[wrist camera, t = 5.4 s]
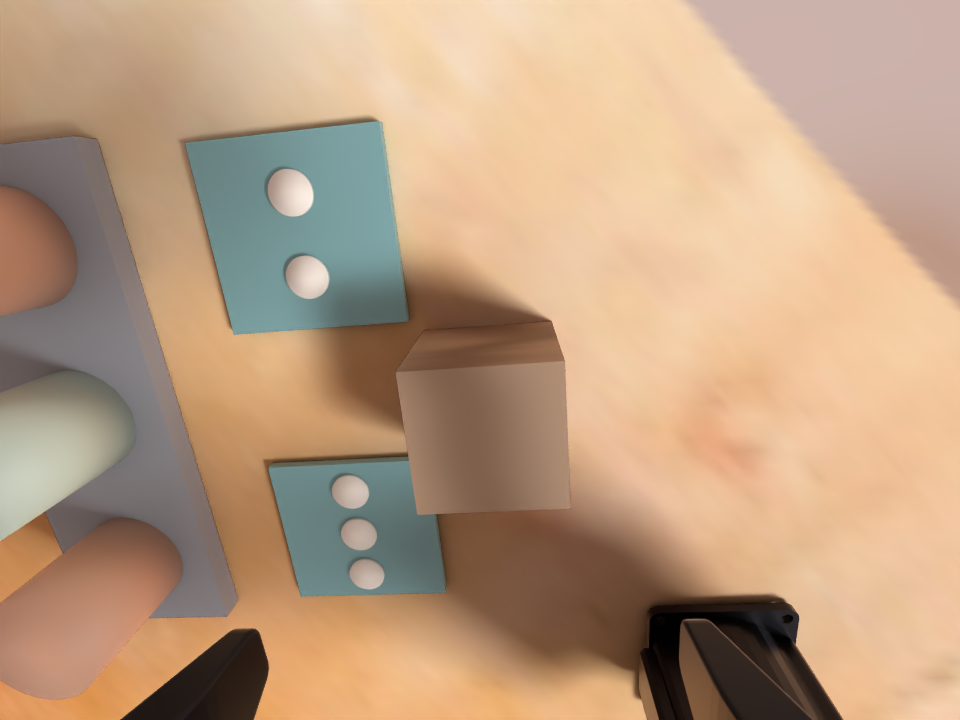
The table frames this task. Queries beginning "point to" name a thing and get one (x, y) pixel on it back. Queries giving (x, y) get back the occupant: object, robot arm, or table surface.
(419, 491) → the brown cube
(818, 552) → the table surface
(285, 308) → the pad two
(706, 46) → the table surface
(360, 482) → the pad three
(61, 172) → the board
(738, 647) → the robot arm
